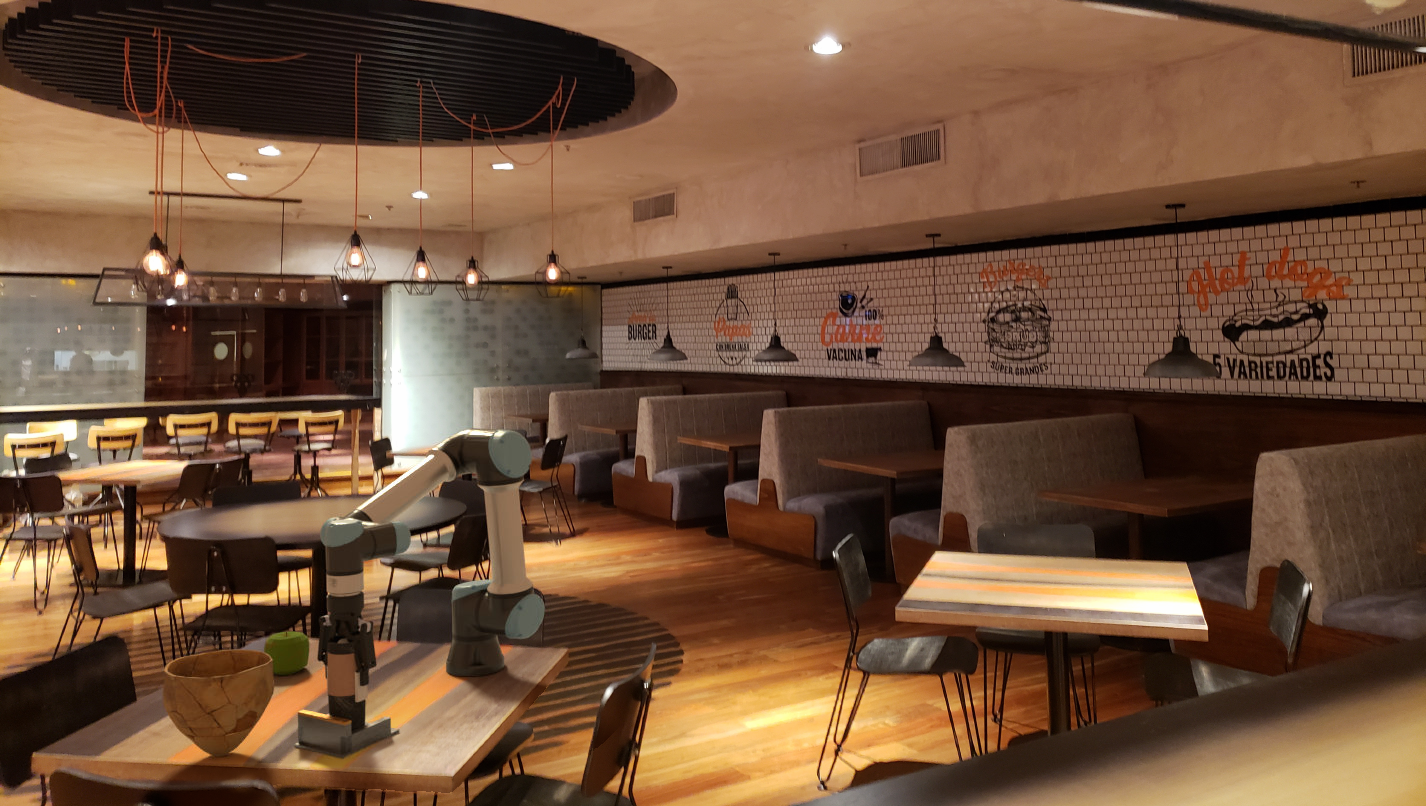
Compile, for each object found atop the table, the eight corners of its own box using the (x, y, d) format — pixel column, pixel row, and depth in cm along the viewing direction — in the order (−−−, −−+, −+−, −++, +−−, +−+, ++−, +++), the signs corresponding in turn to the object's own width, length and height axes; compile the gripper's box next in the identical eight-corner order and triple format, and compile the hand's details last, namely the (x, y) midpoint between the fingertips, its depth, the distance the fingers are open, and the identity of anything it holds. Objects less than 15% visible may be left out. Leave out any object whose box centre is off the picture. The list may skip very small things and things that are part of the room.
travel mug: (373, 725, 213) (372, 635, 212) (350, 738, 206) (348, 645, 205) (345, 721, 216) (343, 632, 215) (320, 734, 208) (319, 641, 208)
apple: (318, 669, 259) (317, 628, 259) (281, 680, 250) (280, 638, 250) (292, 662, 265) (292, 622, 265) (256, 673, 256) (255, 632, 256)
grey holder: (353, 721, 221) (352, 690, 221) (399, 732, 215) (398, 700, 215) (294, 746, 207) (293, 713, 207) (342, 758, 201) (341, 724, 200)
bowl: (219, 732, 215) (217, 642, 214) (296, 742, 209) (294, 650, 209) (139, 769, 195) (136, 671, 195) (221, 782, 190) (219, 680, 189)
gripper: (297, 591, 211) (299, 695, 212) (367, 601, 202) (369, 710, 203) (325, 584, 218) (327, 685, 218) (393, 593, 208) (395, 698, 209)
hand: (347, 697), depth 211 cm, fingers closed on travel mug, 8 cm apart
